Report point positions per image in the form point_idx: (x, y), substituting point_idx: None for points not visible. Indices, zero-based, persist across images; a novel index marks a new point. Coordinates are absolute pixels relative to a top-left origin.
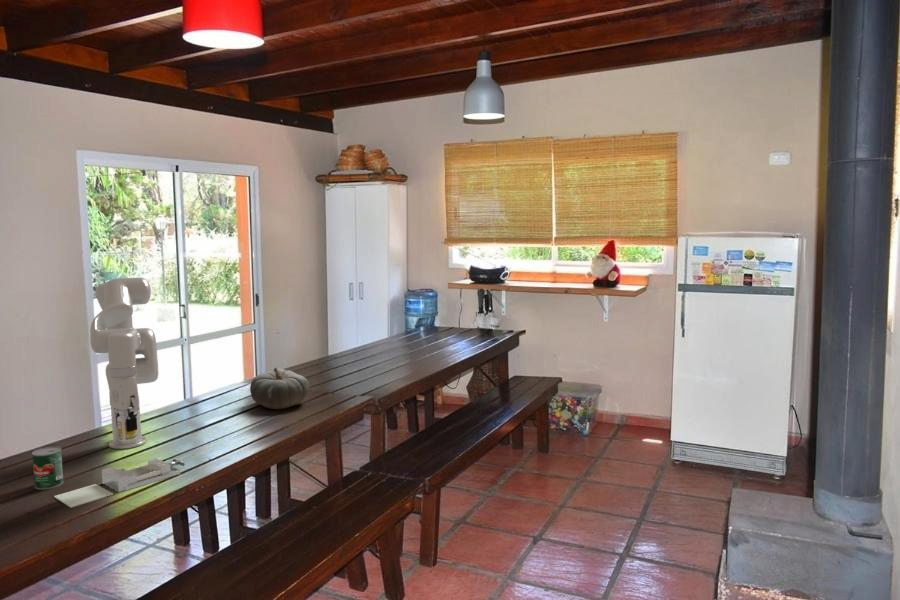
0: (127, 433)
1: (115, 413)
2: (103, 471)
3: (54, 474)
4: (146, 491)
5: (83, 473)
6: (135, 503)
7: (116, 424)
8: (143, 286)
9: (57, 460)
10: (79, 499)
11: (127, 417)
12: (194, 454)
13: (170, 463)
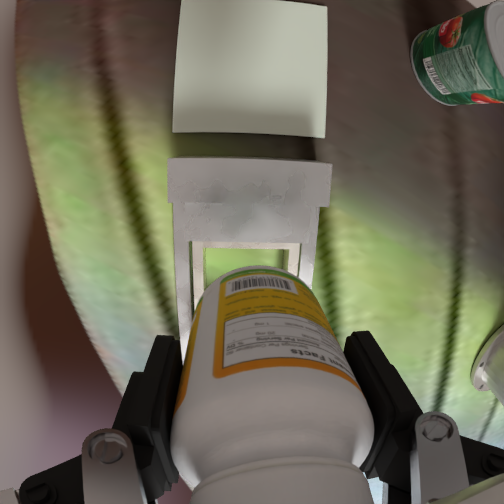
0: (192, 332)
1: (447, 423)
2: (314, 162)
3: (434, 51)
4: (114, 224)
5: (451, 177)
6: (51, 156)
7: (377, 345)
8: None
9: (469, 58)
10: (218, 34)
11: (113, 450)
12: None
13: None
